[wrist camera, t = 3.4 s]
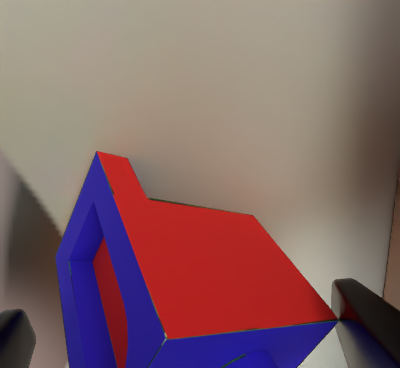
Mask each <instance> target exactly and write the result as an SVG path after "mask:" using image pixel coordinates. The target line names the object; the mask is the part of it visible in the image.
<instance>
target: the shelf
mask: <svg viewBox="0 0 400 368" xmlns="http://www.w3.org/2000/svg"><path fill="white" fill-rule="evenodd" d="M383 299H384V300H385V301H387V302H388V303H390V304H391V305H393V306H394V307H395V308H397V309H398V310H400V168H399V176H398V184H397V192H396V200H395V208H394V216H393V224H392V232H391V240H390V248H389V256H388V264H387V272H386V280H385V288H384V296H383Z"/></svg>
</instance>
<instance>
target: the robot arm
mask: <svg viewBox="0 0 400 368" xmlns="http://www.w3.org/2000/svg"><path fill="white" fill-rule="evenodd" d="M331 310H332V311H333V313H334V314H335V315H336V316H337V317H338V319H339V320H340V321H339V322H338V323H337V324H336V325H335V328H336V331H337V334H338V337H339V340H340V343H341V346H342V349H343V352H344V356H345V359H346V362H347V365H348V368H400V310H398V309H397V308H395V307H394V306H393V305H391V304H390V303H388V302H387V301H385V300H384V299H382V298H381V297H379V296H378V295H377V294H375V293H374V292H372V291H371V290H369V289H368V288H366V287H365V286H364V285H362V284H361V283H359V282H358V281H356V280H355V279H352V278H346V279H336V280H334V281H333V283H332V294H331ZM35 344H36V336H35V332H34V330H33V328H32V326H31V324H30V321H29V319H28V317H27V315H26V313H25V312H24V311H23V310H21V309H15V310H6V311H3V312H1V313H0V368H28V367H29V364H30V361H31V358H32V354H33V351H34V347H35Z"/></svg>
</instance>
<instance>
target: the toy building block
mask: <svg viewBox="0 0 400 368" xmlns="http://www.w3.org/2000/svg"><path fill="white" fill-rule="evenodd" d="M55 259H56V267H57V275H58V282H59V291H60V298H61V307H62V314H63V322H64V330H65V338H66V346H67V354H68V362H69V368H297V367H298V366H299V365H300V364H301V363H302V362H303V360H304V359H305V358H306V357H307V356H308V355H309V354H310V353H311V352H312V351H313V349H314V348H315V347H316V346H317V345H318V344H319V343H320V342H321V341H322V340H323V339H324V337H325V336H326V335H327V334H328V333H329V332H330V331H331V330H332V329H333V328H334V327H335V325H336V324H337V323H338V322H339V321H340V320H339V319H338V317H337V316H336V315H335V314H334V313H333V311H332V310H331V309H330V308H329V306H328V305H327V304H326V303H325V302H324V300H323V299H322V298H321V297H320V296H319V294H318V293H317V292H316V291H315V290H314V288H313V287H312V286H311V285H310V284H309V282H308V281H307V280H306V279H305V278H304V276H303V275H302V274H301V273H300V272H299V270H298V269H297V268H296V267H295V266H294V264H293V263H292V262H291V261H290V259H289V258H288V257H287V256H286V255H285V253H284V252H283V251H282V250H281V249H280V247H279V246H278V245H277V244H276V243H275V241H274V240H273V239H272V238H271V237H270V235H269V234H268V233H267V232H266V231H265V229H264V228H263V227H262V226H261V225H260V223H259V222H258V221H257V220H256V219H255V217H254V216H253V215H248V214H242V213H236V212H230V211H224V210H218V209H212V208H206V207H200V206H194V205H188V204H183V203H177V202H171V201H165V200H159V199H153V198H147V197H146V195H145V193H144V191H143V189H142V187H141V185H140V183H139V181H138V179H137V177H136V175H135V173H134V171H133V169H132V167H131V165H130V163H129V161H128V159H127V158H124V157H120V156H115V155H111V154H107V153H103V152H98V151H96V154H95V156H94V159H93V161H92V164H91V166H90V169H89V172H88V174H87V177H86V179H85V182H84V184H83V187H82V189H81V192H80V195H79V197H78V200H77V202H76V205H75V207H74V210H73V212H72V215H71V218H70V220H69V223H68V225H67V228H66V230H65V233H64V235H63V238H62V241H61V243H60V246H59V248H58V251H57V254H56V256H55Z"/></svg>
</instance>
